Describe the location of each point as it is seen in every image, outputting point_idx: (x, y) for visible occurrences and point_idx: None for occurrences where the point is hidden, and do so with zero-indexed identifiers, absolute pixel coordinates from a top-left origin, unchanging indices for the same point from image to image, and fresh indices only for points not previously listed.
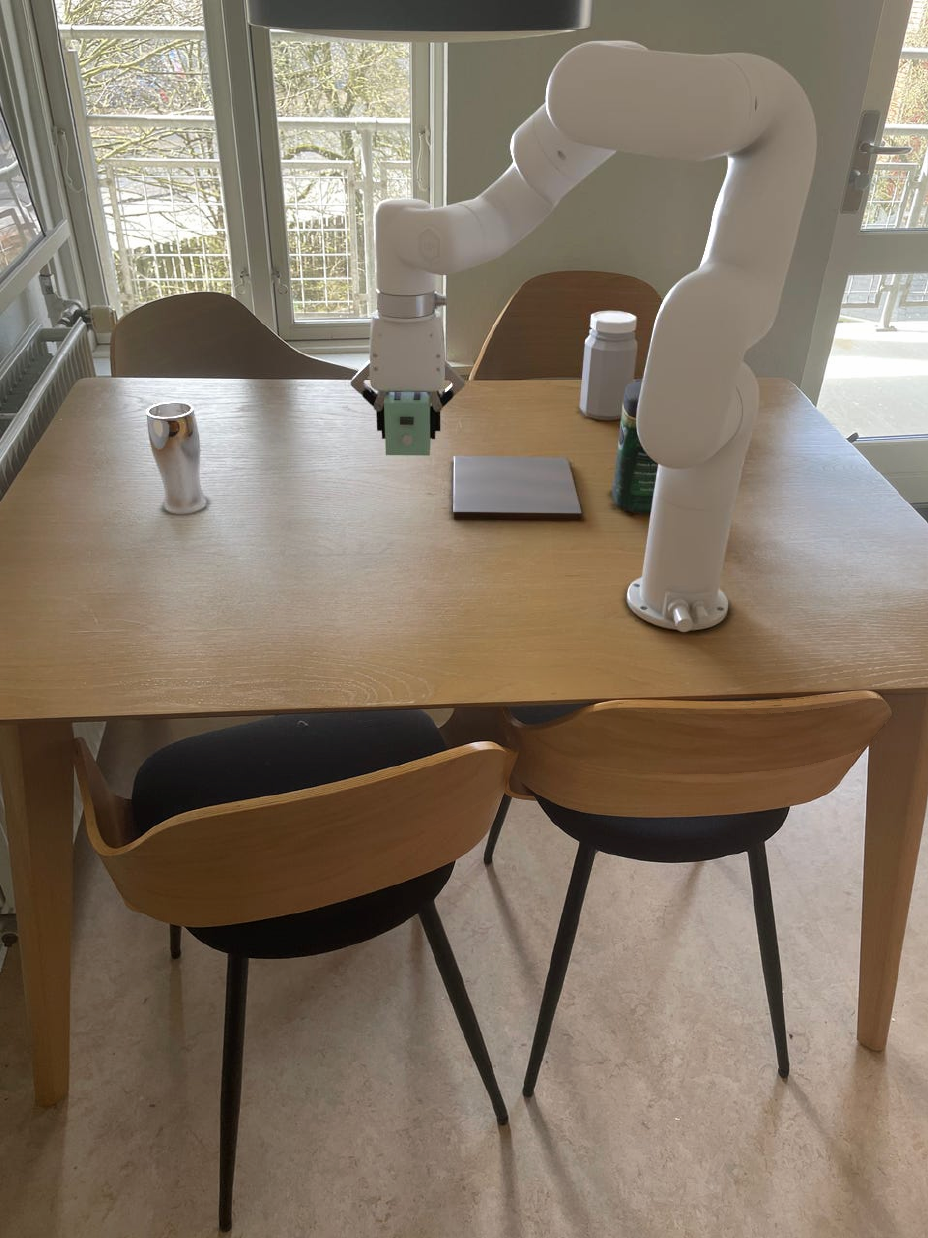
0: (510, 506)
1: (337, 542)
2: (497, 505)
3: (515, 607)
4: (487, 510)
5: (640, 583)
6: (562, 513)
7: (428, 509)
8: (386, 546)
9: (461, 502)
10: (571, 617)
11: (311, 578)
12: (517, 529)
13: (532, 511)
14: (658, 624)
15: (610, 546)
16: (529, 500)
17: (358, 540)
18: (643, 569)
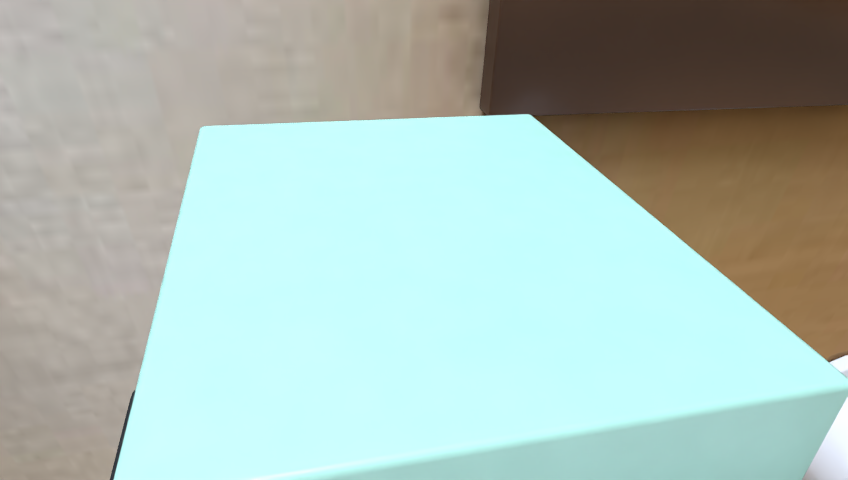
0: (690, 64)
1: (84, 301)
2: (649, 57)
3: None
4: (606, 99)
5: None
6: (822, 105)
7: (388, 26)
8: None
9: (527, 34)
10: None
11: (82, 473)
12: (660, 165)
13: (743, 100)
14: None
15: (840, 233)
16: (769, 7)
17: (157, 281)
18: (829, 475)
